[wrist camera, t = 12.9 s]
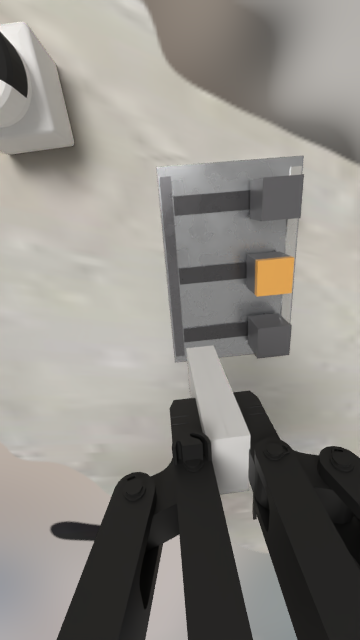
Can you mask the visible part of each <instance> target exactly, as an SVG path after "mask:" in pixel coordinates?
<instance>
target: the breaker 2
mask: <svg viewBox="0 0 360 640" xmlns="http://www.w3.org/2000/svg"><path fill="white" fill-rule="evenodd" d="M291 326H292V325H291V324H290V323H289V322H287V321H286V320H285V319H284V318H283V317H282V316H281V315H280V314H279V313H274V314H264V315H254V316H248V345H249V346H250V348H251V349H252V351H253V352H254V354H255V356H256V357H257V358H265V357H274V356H283V355H289V350H290V338H291Z"/></svg>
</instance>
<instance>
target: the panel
mask: <svg viewBox="0 0 360 640" xmlns="http://www.w3.org/2000/svg"><path fill="white" fill-rule="evenodd" d="M303 158H304V156H292V157H279V158H266V159H253V160H240V161H227V162H214V163H201V164H188V165H175V166H161V167H156V169H157V180H158V190H159V201H160V211H161V222H162V232H163V243H164V253H165V264H166V274H167V285H168V295H169V306H170V316H171V327H172V337H173V348H174V358H175V362H182V361H187V351H186V348H193V347H203V346H212V345H214V348H215V350H216V353H217V355H218V358H219V357H228V356H237V355H246V354H254V352H253V351H252V349H251V348H250V346H249V345H248V316H254V315H264V314H274V313H279V314H280V315H281V316H282V317H283V318H284V319H285V320H286V321H287V322H289V323H290V321H291V308H292V296H293V283H294V271H295V258H296V246H297V233H298V221H299V218H294V219H283V220H271V221H258V220H253V219H250V180H253V179H258V178H263V177H276V176H288V175H301V174H302V170H303ZM279 251H280V252H282V253H285V254H287V255H289V256H292V257H294V270H293V283H292V293H288V294H278V295H268V296H258V297H257V296H256V295H255V294H254V293H252V292H251V291H250V290H249V289H248V288H247V287H246V274H247V254H257V253H268V252H279Z"/></svg>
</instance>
